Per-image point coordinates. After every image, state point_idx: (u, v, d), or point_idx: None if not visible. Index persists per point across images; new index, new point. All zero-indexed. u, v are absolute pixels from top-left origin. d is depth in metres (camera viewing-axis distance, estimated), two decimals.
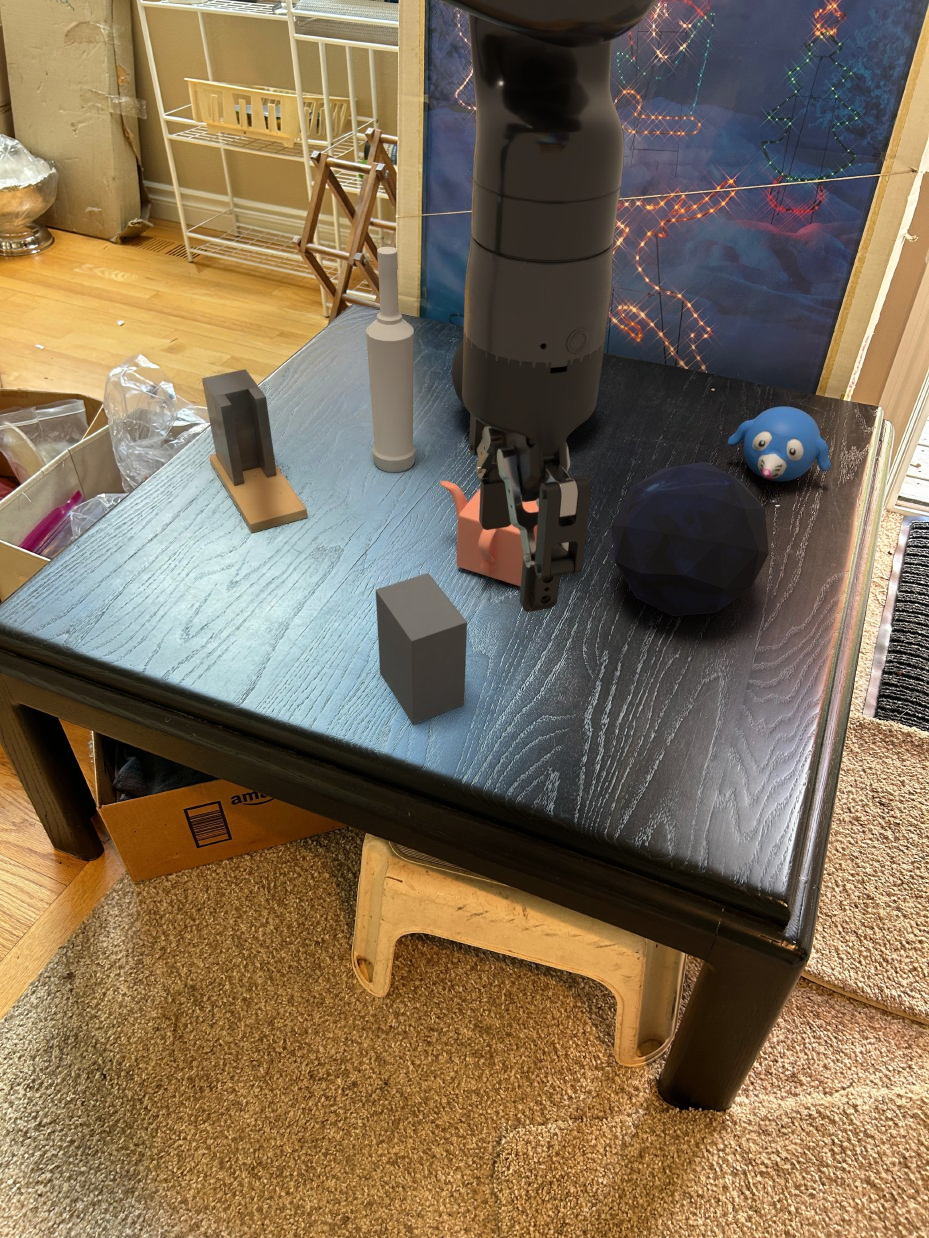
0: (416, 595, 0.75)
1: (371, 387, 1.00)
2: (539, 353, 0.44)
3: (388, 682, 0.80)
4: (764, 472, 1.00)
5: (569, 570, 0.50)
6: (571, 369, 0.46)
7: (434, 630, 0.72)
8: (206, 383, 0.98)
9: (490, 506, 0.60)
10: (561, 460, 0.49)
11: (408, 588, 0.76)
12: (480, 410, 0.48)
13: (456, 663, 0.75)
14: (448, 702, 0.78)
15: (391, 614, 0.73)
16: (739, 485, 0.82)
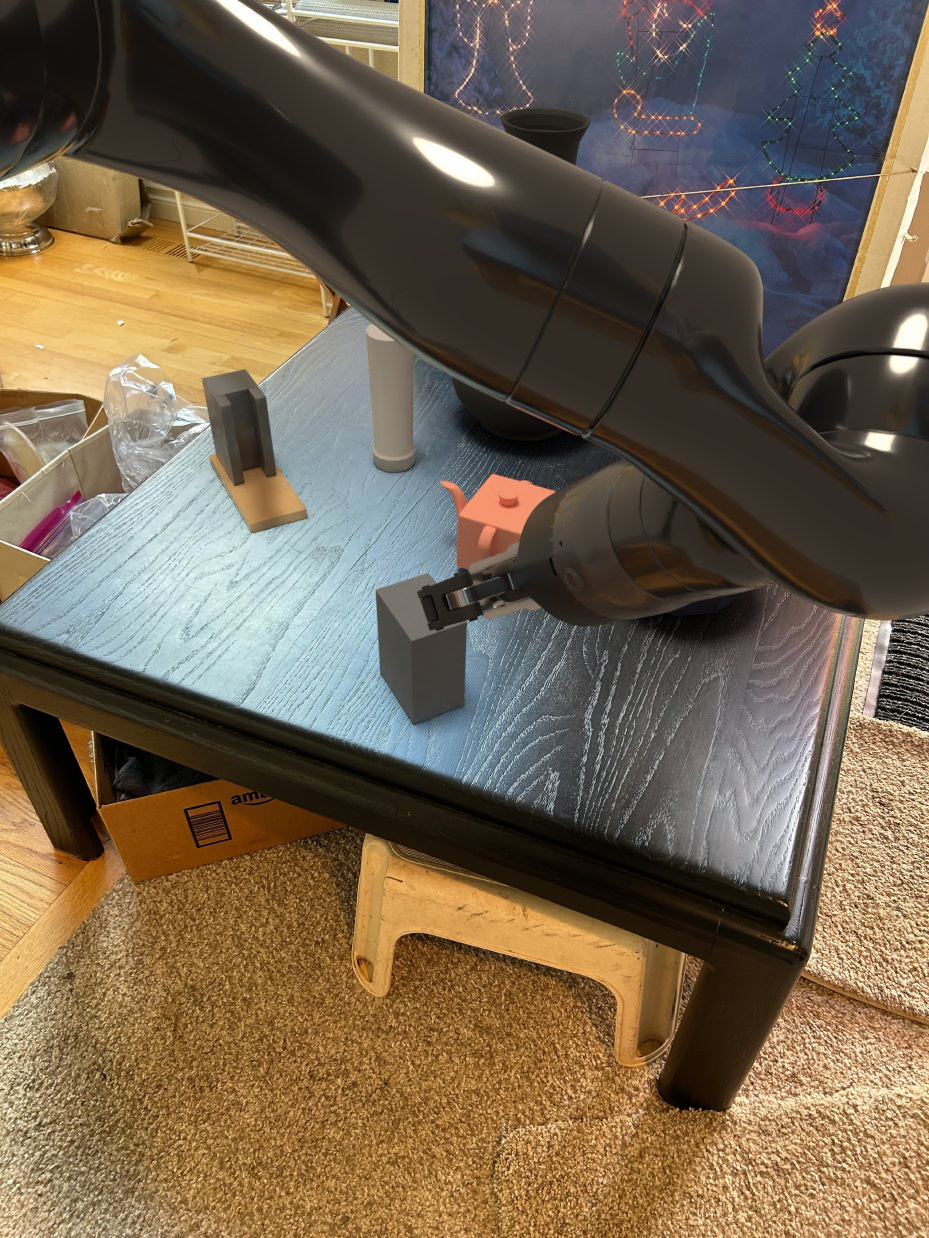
0: (416, 595, 0.75)
1: (371, 387, 1.00)
2: (556, 542, 0.43)
3: (388, 682, 0.80)
4: None
5: (426, 618, 0.52)
6: (557, 580, 0.44)
7: (434, 630, 0.72)
8: (206, 383, 0.98)
9: None
10: (508, 593, 0.48)
11: (408, 588, 0.76)
12: (541, 503, 0.47)
13: (456, 663, 0.75)
14: (448, 702, 0.78)
15: (391, 614, 0.73)
16: None
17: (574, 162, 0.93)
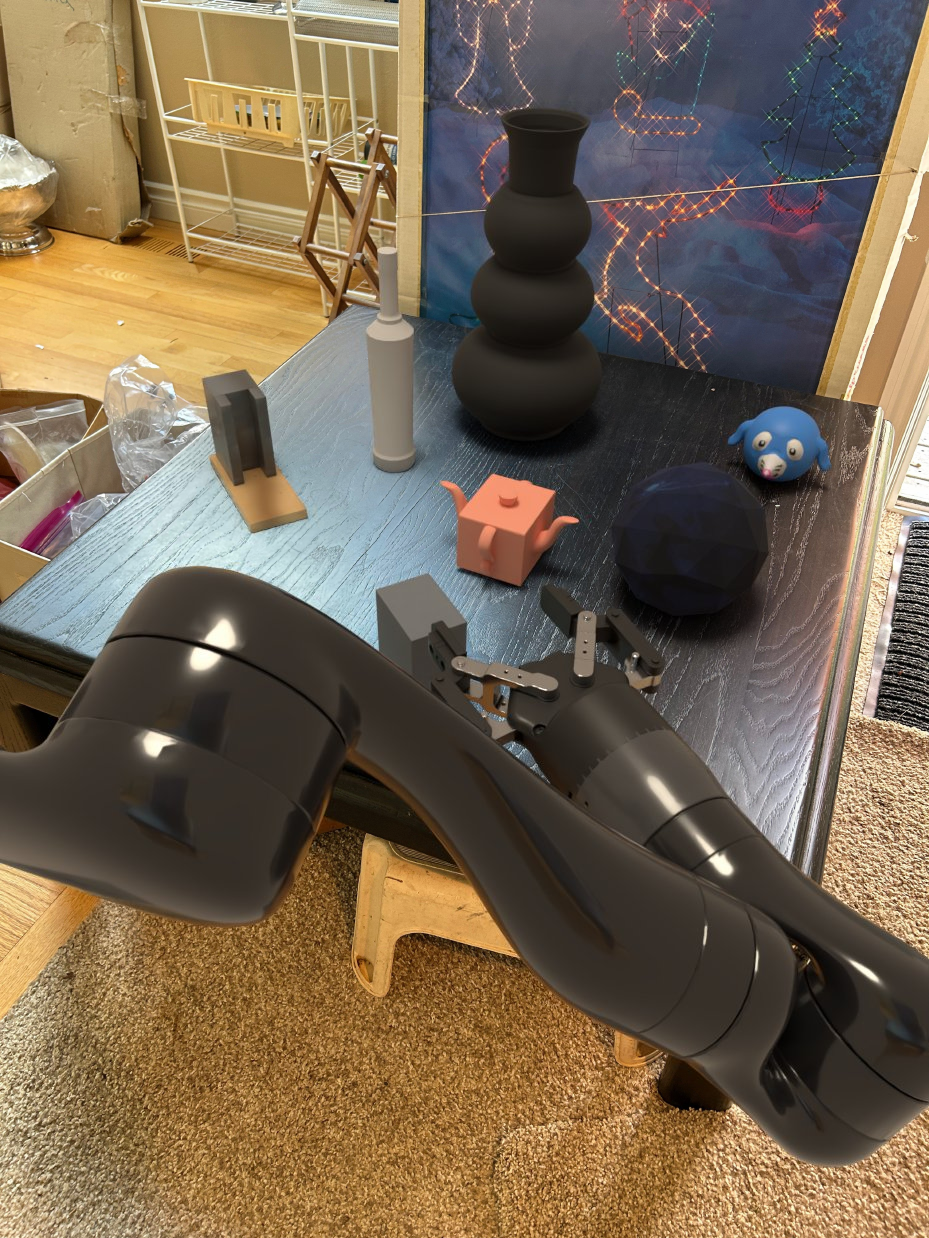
0: (416, 595, 0.75)
1: (371, 387, 1.00)
2: (583, 797, 0.49)
3: None
4: (764, 472, 1.00)
5: None
6: None
7: None
8: (206, 383, 0.98)
9: (556, 605, 0.61)
10: (516, 741, 0.54)
11: (408, 588, 0.76)
12: (578, 708, 0.51)
13: None
14: None
15: (391, 614, 0.73)
16: (739, 485, 0.82)
17: (574, 162, 0.93)
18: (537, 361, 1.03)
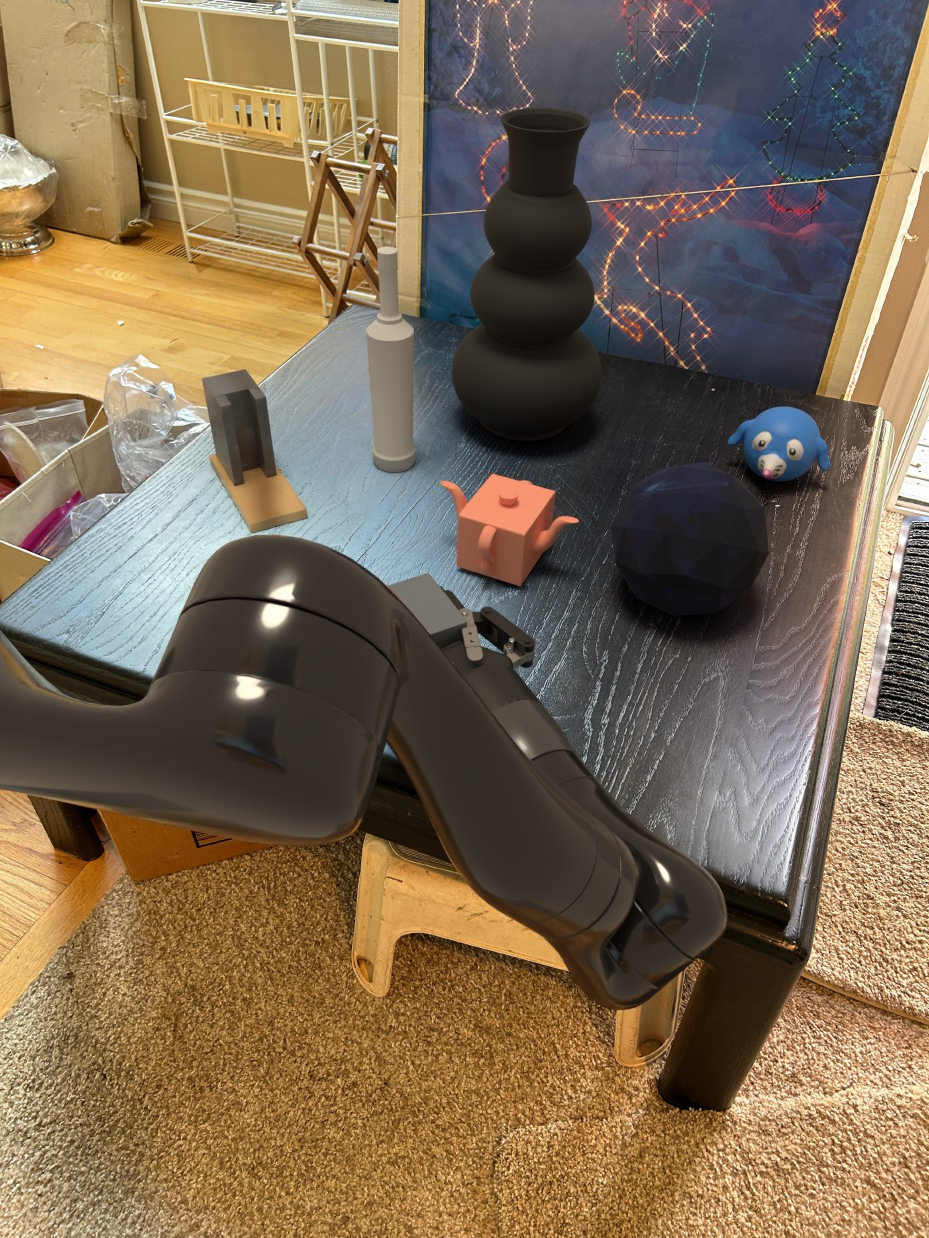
0: (416, 595, 0.75)
1: (371, 387, 1.00)
2: None
3: None
4: (764, 472, 1.00)
5: None
6: None
7: (434, 629, 0.72)
8: (206, 383, 0.98)
9: None
10: None
11: (408, 588, 0.76)
12: None
13: None
14: None
15: None
16: (739, 485, 0.82)
17: (574, 162, 0.93)
18: (537, 361, 1.03)
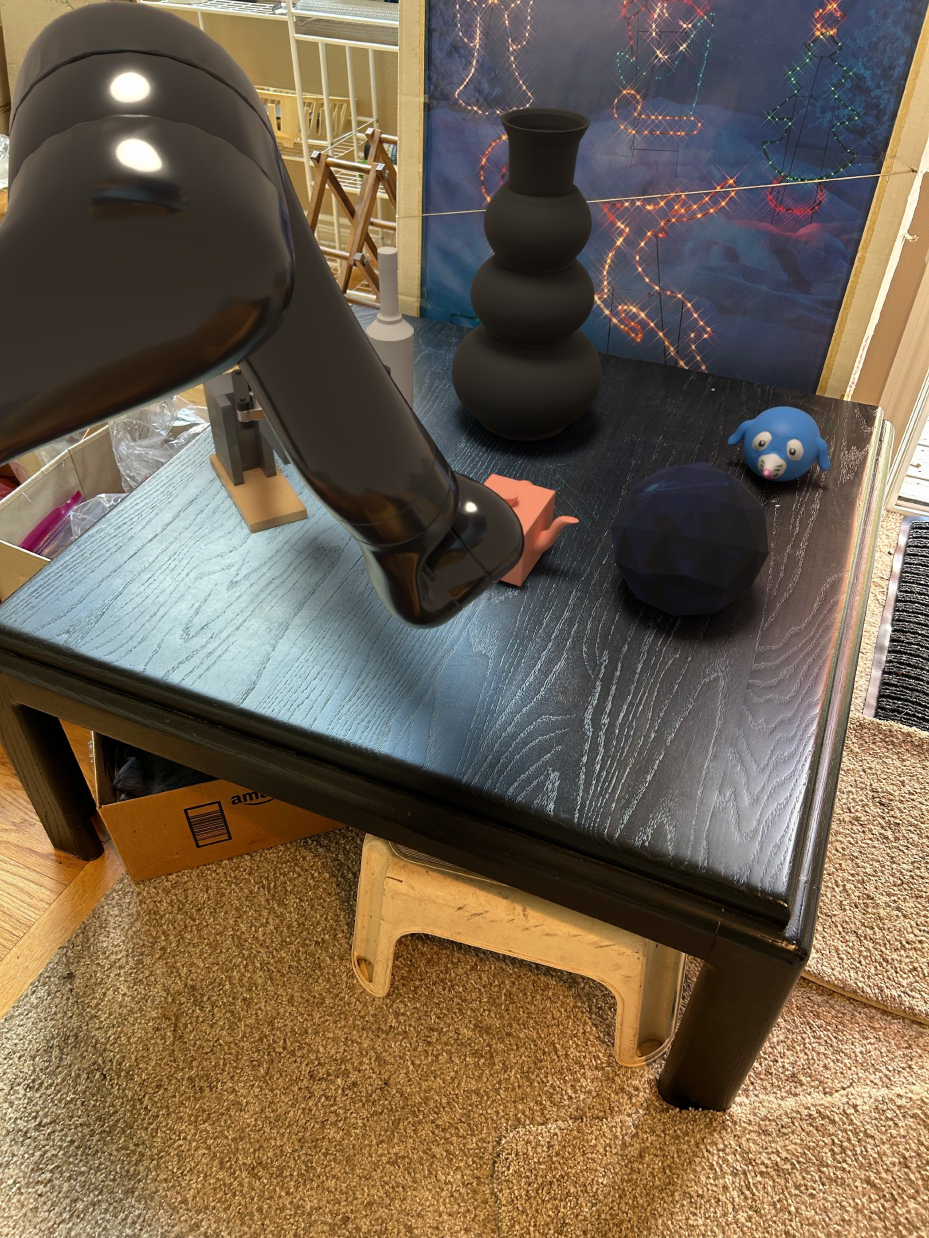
0: None
1: None
2: None
3: (265, 434, 0.85)
4: (764, 472, 1.00)
5: None
6: None
7: None
8: (206, 383, 0.98)
9: None
10: None
11: None
12: None
13: None
14: None
15: None
16: (739, 485, 0.82)
17: (574, 162, 0.93)
18: (537, 361, 1.03)
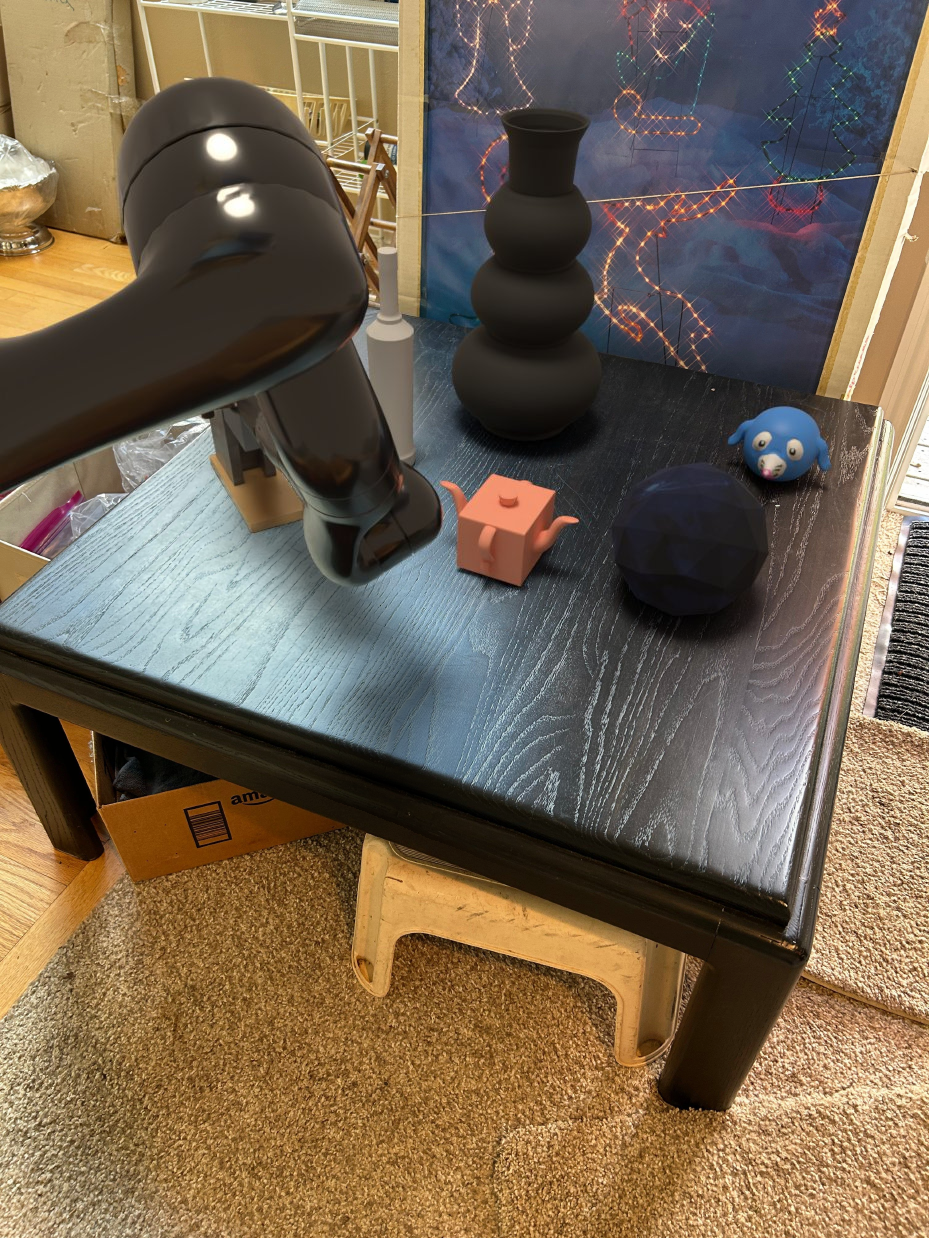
0: None
1: None
2: (258, 425, 0.77)
3: (229, 424, 0.94)
4: (764, 472, 1.00)
5: None
6: (256, 438, 0.79)
7: None
8: None
9: None
10: (234, 411, 0.82)
11: None
12: None
13: None
14: None
15: None
16: (739, 485, 0.82)
17: (574, 162, 0.93)
18: (537, 361, 1.03)
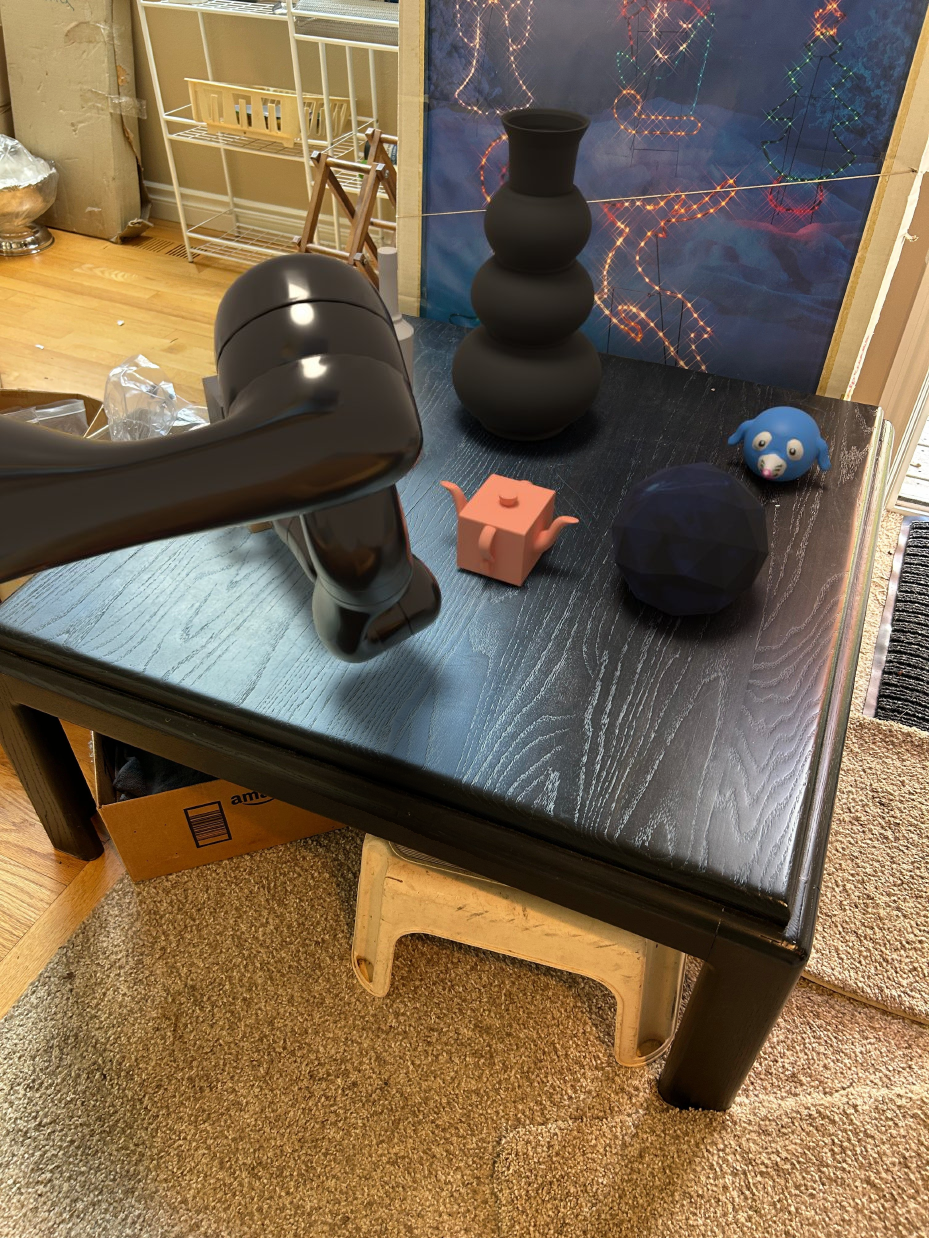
0: None
1: None
2: None
3: None
4: (764, 472, 1.00)
5: None
6: None
7: None
8: (206, 383, 0.98)
9: None
10: None
11: None
12: None
13: None
14: None
15: None
16: (739, 485, 0.82)
17: (574, 162, 0.93)
18: (537, 361, 1.03)
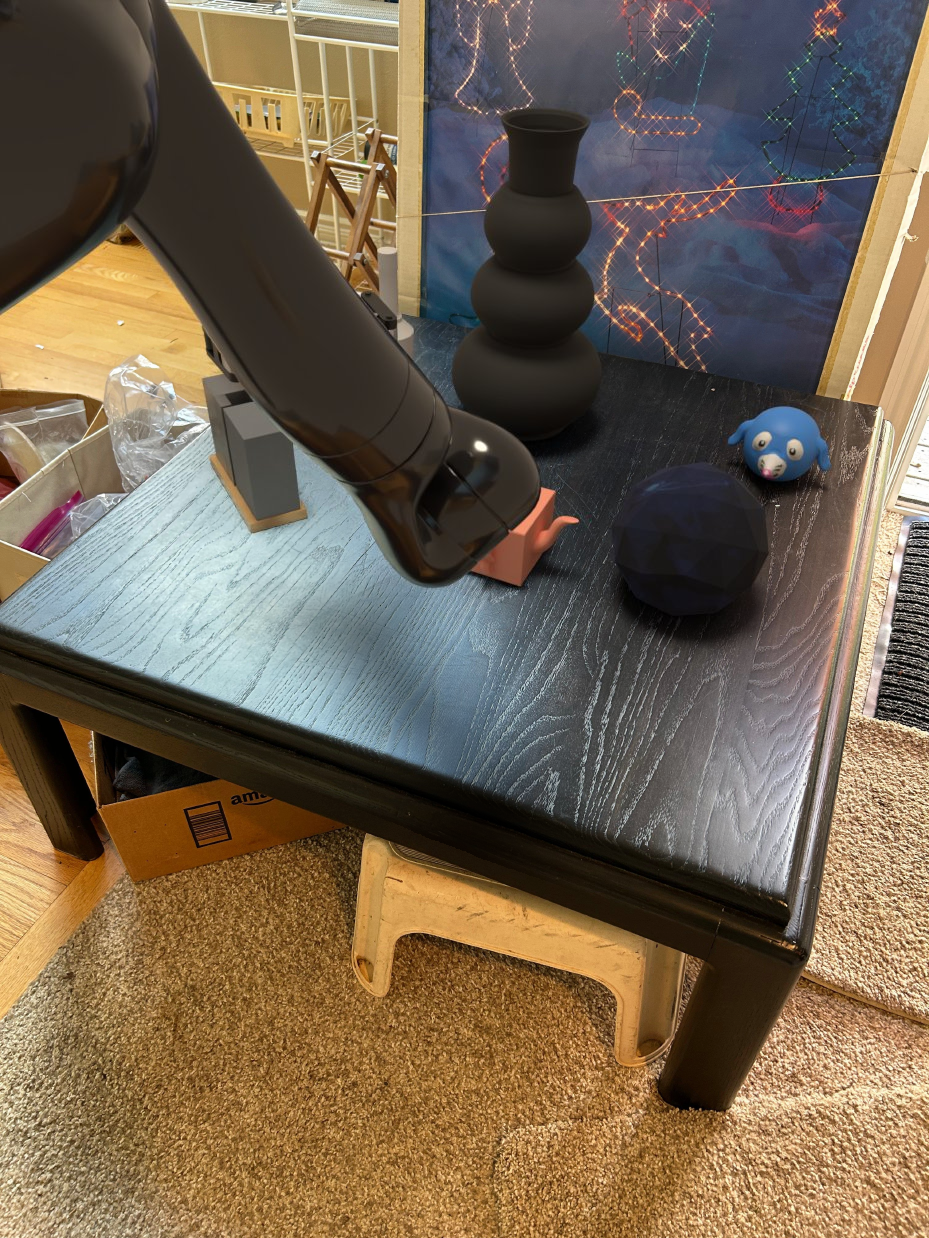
0: (255, 412, 0.94)
1: None
2: None
3: (241, 492, 0.99)
4: (764, 472, 1.00)
5: None
6: None
7: (263, 433, 0.91)
8: (206, 383, 0.98)
9: None
10: None
11: (249, 407, 0.95)
12: None
13: (287, 467, 0.94)
14: (285, 504, 0.97)
15: (232, 424, 0.92)
16: (739, 485, 0.82)
17: (574, 162, 0.93)
18: (537, 361, 1.03)
